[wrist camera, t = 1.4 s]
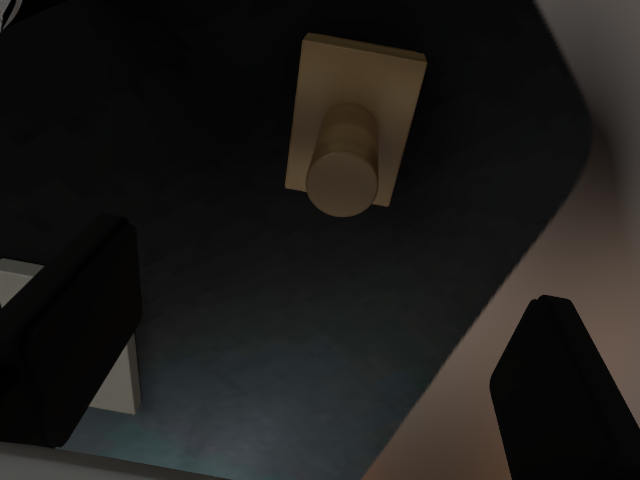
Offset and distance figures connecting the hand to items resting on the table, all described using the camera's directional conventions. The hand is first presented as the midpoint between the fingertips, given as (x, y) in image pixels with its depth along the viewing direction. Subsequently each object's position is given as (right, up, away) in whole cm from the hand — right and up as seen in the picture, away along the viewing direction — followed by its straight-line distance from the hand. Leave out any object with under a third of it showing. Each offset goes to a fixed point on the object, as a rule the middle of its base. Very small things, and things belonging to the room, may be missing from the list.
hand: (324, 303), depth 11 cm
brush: (+1, +7, +10) cm, 13 cm away
